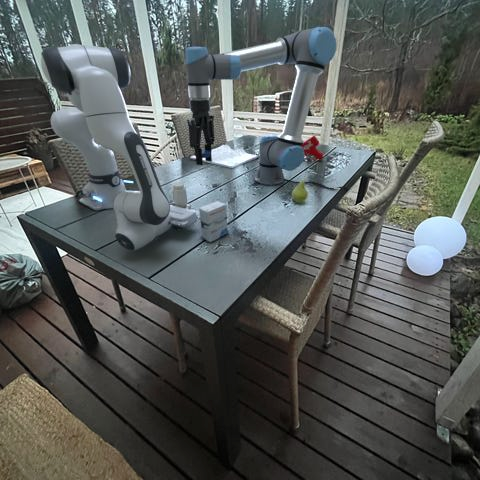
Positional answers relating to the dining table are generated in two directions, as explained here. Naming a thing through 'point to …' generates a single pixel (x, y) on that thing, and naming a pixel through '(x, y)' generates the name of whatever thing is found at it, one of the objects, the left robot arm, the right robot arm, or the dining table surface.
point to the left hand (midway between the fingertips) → (182, 205)
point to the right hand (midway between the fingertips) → (204, 162)
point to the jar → (179, 195)
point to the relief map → (228, 157)
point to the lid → (206, 154)
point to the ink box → (213, 221)
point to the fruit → (300, 192)
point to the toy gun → (312, 148)
